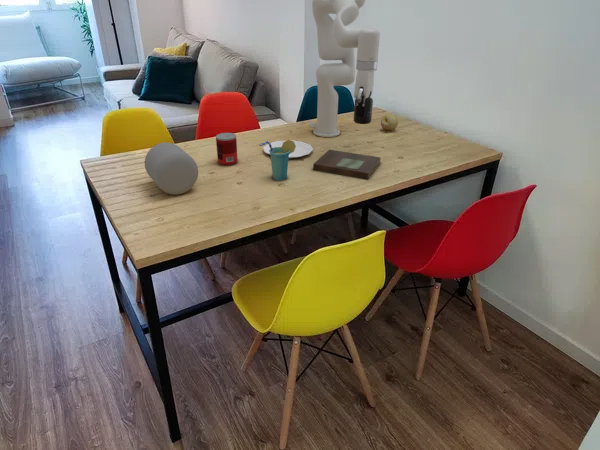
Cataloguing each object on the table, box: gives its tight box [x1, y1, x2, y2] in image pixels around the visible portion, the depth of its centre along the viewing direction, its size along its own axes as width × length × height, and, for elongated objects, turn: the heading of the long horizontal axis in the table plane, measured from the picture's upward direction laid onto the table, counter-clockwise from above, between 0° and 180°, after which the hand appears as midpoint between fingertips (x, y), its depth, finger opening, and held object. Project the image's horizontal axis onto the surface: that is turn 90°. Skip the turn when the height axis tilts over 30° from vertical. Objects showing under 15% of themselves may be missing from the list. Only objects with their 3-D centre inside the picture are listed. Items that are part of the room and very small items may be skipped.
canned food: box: [215, 132, 238, 167], centre depth 177 cm, size 8×8×11 cm
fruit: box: [380, 113, 399, 132], centre depth 217 cm, size 8×8×8 cm
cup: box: [259, 139, 296, 181], centre depth 163 cm, size 14×8×15 cm, turn 122°
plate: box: [262, 139, 314, 159], centre depth 191 cm, size 21×21×2 cm
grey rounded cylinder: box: [144, 142, 199, 196], centre depth 157 cm, size 19×15×25 cm
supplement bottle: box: [353, 91, 374, 125], centre depth 170 cm, size 7×7×12 cm
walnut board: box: [312, 149, 381, 180], centre depth 177 cm, size 22×18×3 cm
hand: (362, 113), depth 172 cm, fingers closed on supplement bottle, 6 cm apart
